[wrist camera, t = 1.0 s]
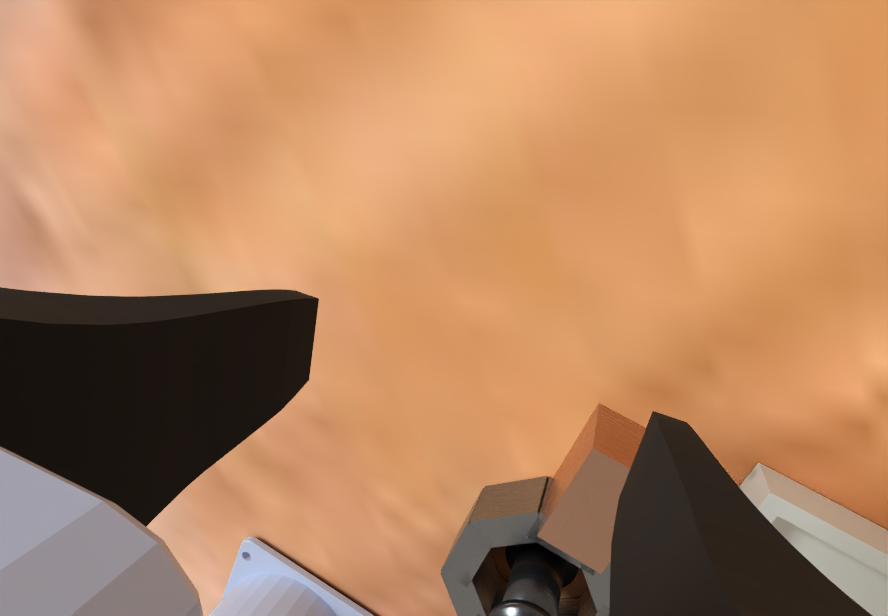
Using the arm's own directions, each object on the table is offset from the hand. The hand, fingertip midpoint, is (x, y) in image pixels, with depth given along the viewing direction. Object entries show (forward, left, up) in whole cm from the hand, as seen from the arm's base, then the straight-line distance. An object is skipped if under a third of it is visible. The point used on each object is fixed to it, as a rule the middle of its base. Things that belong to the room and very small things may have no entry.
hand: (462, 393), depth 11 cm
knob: (-10, -5, -10) cm, 15 cm away
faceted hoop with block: (-8, -5, -10) cm, 14 cm away
